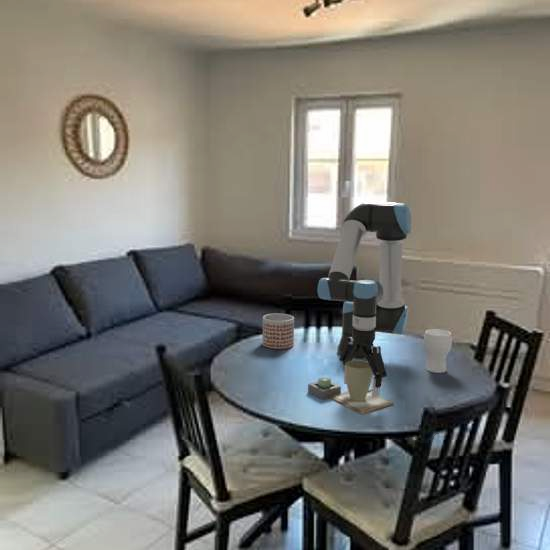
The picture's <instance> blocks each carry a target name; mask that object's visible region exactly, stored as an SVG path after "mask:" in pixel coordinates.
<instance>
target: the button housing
mask: <svg viewBox="0 0 550 550" xmlns="http://www.w3.org/2000/svg"><path fill="white" fill-rule="evenodd" d="M307 392H308V393H309V394H310V395H313V396H315V397H317V398H318V399H319V400H320V399H321V400H322V401H323V400H326V399H330V398H329V396H332V395H335V394H339V393H342V387H341V385H339V384H337V383H335V382H332V381H331V387H329V388H326V389H322V388H320V387H318V380H317V381H314V382H311V383H307Z"/></svg>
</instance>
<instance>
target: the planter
mask: <svg viewBox="0 0 550 550" xmlns="http://www.w3.org/2000/svg"><path fill="white" fill-rule="evenodd" d="M294 335H295V317H294V316H293V315H291V314H287V313H268V314H265V315H263V316H262V345H263V347H264V346H265V347H264V348H266V347H267V348H266V349H269V348H270V349H271V350H277V349H278V350H287V349H291V348H293V346H294V344H295V342H294V340H295V338H294V337H295V336H294Z"/></svg>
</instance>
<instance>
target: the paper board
mask: <svg viewBox="0 0 550 550" xmlns="http://www.w3.org/2000/svg"><path fill="white" fill-rule="evenodd" d="M328 399H331V400H333V401H334V402H337V403H338V404H340V405H342V406H345V408H349V409H350V410H352V411H354V412H356V413H357V414H360V415H365V414H368V413H373V412H374V411H378V410H381V409H384V408H387V407H390V406H393V405H394V402H392V401H390V400H388V399H385V398H383V397H381V396H380V395H379V396H376V397H372V392H369V393H367V395H366V398H365V400H364V401H353V400H351V398H350V395H349V391H348V390H346V391H343V392H341V393H339V394H335V395H332V396H329V398H328Z"/></svg>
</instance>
